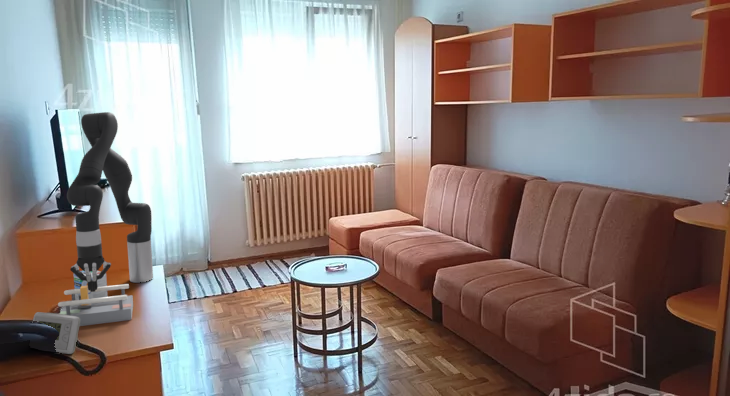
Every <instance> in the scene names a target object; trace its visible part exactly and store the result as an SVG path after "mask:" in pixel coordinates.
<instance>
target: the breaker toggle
mask: <svg viewBox="0 0 730 396" xmlns="http://www.w3.org/2000/svg"><path fill="white" fill-rule="evenodd" d="M80 293H81V300H84V299H89V297H88V286H81V288H80ZM92 304H93V303H91V304H82V305H78V309H83V308H91V307H92Z"/></svg>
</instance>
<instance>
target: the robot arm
mask: <svg viewBox="0 0 730 396" xmlns="http://www.w3.org/2000/svg"><path fill="white" fill-rule="evenodd" d="M80 120H81V123H80V124H81V128H82V132H83V133H84V136H85V137H86V139H87V141H88V143H89V144H90V146H91V147H90V149H88V150H87V152H86V153H85V155H84V156H83V157H82V159H81V161H80V165H79V170H78V174H77V175H76V176H75V178H74V180H73V181H72V183H71V184H70V185H69V187H68V190H67V192H66V199H67V201H68V203H69V204H70V205H71V206H74V207H87V206H89V209H88V210H86V211H83V212H79V213H77V214H76V215H75V230H76V231H75V232H76V235H75V243H76V251H77V260H76V263H75V264H74V265H72V266H71V267H70V269H69V270H70V271H71V272H72V273H74V274H75V275H76V276H77V277H78V278H80V279H81V280H82V281H87V282H88V290H90V292H95V291H96V290H97V287H98V285H97V280H98V279H101V278H102V277H103V276H104V274H105V273H106V274H107V272H108V271H109V269H110V268H111V267H112V263H111V262H107V261H106V260H105V258H104V256H103V246H102V245H103V243H102V235H101V229H100V218H99V217H100V212H101V211H100V210H101V205H102V201H103V198H104V197H103V196H104V194H103V189H102V188H101V186H99V185H97V184H98V183H100V181H101V179H102V174H103V175H104V176H105V179H106V181H107V183H108V185H109V188H110V190H111V192H112V195H113V197H114V199H115V202H116V206H117V210H118V213H119V217H120V219H121V220H122V222H123V223H124V224H126V225H130V226H131V225H133V226H137V230H136V231H133V232H130V233H128V234H127V236H126V243H127V245H126V246H127V257H128V271H129V282H131V283H138V284H139V283H140V282H141V283H147V282H149V280H150V281H152V280H153V279H154V270H153V269H154V267H153V251H152V238H151V237H152V229H153V228H152V225H153V224H152V218H153V217H152V209H151V206H150V205H149V204H148V203H146V202H145V203H144V202H132V201H131V198H130V196H129V191H130V187H131V185H132V182H133V174H132V172H131V169H130V166H129V164H128V162H127V160H125V158H124V157H122V155H120V154H119V153H118V152H116V151H115V150H114V149H112V148H111V147H112V144H113V143H114V141H115V138H116V136H117V133H118V128H119V126H118V125H119V124H118V120H117V118H116V116H115V114H114V113H112V112H109V111H108V112H106V111H105V112H94V113H93V112H92V113H86V114H84V115H82V116H81V119H80ZM102 265H103V266H102ZM101 267H102V270H101V271H100V269H101ZM80 269H81V270H80ZM81 271H85V274H86V276H85V275H84V274H83V273H82V272H81ZM91 271H92V277H91ZM97 271H100V272H101V273H100V274H99V275H97ZM152 278H153V279H152ZM151 279H152V280H151ZM146 281H147V282H146Z"/></svg>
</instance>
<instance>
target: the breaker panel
mask: <svg viewBox="0 0 730 396" xmlns="http://www.w3.org/2000/svg"><path fill="white" fill-rule="evenodd" d="M129 288H130V285H129V283H124V284H115V285H107V286H104V287H97V290H96V291H95V292H99V291H107V292H108V291H115V290H121V294H120V295H112V296H108V297H102V298H93V299H84V300H76V298H75V294H80V289H75V288H73V289H68V290H67V289H66V290H64V291H63V294H64V295H66V296H68V295H70V296H71V300H66V301H59V302H58V303H57V306H58V307H59V308H61V309H60V312H59V314H65V315H70V316H76V317H79V318H80V325H79V327H84V326H92V325H98V324H109V323H115V322H124V321H132V319H133V309H134V298H133V297H134V296H133V295H132V294H131V295H128V294H126V291H125V290H126V289H129ZM89 292H90V290H88V293H89ZM91 303H93V304H92V307H91V308H83V309H78V305H82V304H91Z"/></svg>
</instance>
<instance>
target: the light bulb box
mask: <svg viewBox="0 0 730 396" xmlns="http://www.w3.org/2000/svg"><path fill="white" fill-rule="evenodd" d="M80 271H81V272H82V273H83V274H84V275H85V276H86V274H85V271H83V270H80ZM72 273H73V272H72ZM100 273H101V271H100V270H97V275H99V274H100ZM72 275H73V285H74V288H73V289H80V288H81V286H88V282H87V281H82V280H81V279H80V278H78V277H77V276H76V275H75V274H74V273H73V274H72ZM91 277H92V271H91ZM97 285H98V287H104V286H108V283H107V272H106V273H105V274H104V276H103V277H102V278H101V279H98V280H97ZM88 297H89V299H93V298H102V297H109V295H108V291H99V292H89V293H88ZM75 298H76V300H81V293H80V294H75Z"/></svg>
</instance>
